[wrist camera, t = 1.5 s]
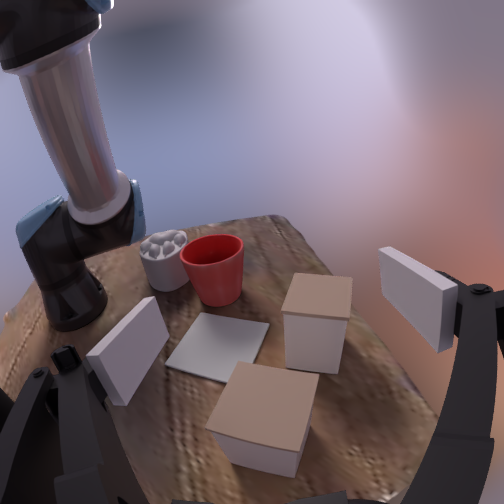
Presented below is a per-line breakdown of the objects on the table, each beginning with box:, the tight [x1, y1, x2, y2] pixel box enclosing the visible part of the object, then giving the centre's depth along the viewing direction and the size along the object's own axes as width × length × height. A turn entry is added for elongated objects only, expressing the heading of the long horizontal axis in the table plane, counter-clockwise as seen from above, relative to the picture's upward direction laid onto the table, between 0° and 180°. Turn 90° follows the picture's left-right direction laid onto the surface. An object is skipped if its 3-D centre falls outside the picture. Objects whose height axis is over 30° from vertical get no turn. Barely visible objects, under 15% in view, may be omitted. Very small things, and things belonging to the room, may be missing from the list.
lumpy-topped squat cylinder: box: [140, 230, 190, 292], centre depth 57 cm, size 10×13×9 cm
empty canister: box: [281, 273, 352, 374], centre depth 34 cm, size 7×7×10 cm
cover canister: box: [204, 361, 319, 478], centre depth 22 cm, size 7×7×10 cm
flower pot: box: [180, 234, 244, 307], centre depth 48 cm, size 11×11×10 cm
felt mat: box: [165, 312, 269, 383], centre depth 39 cm, size 12×12×1 cm
